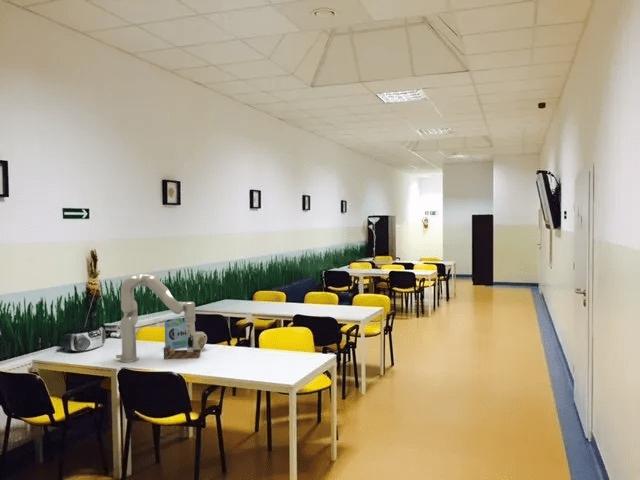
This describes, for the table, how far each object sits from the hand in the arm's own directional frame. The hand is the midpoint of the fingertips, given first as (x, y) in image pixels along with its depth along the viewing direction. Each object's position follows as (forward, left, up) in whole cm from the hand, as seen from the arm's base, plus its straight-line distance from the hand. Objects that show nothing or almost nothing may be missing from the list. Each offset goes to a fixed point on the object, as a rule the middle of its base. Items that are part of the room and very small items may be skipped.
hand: (190, 344), depth 390 cm
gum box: (-15, +31, -9) cm, 36 cm away
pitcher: (+2, +20, -9) cm, 22 cm away
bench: (-6, 0, -9) cm, 11 cm away
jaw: (0, 0, -6) cm, 6 cm away
